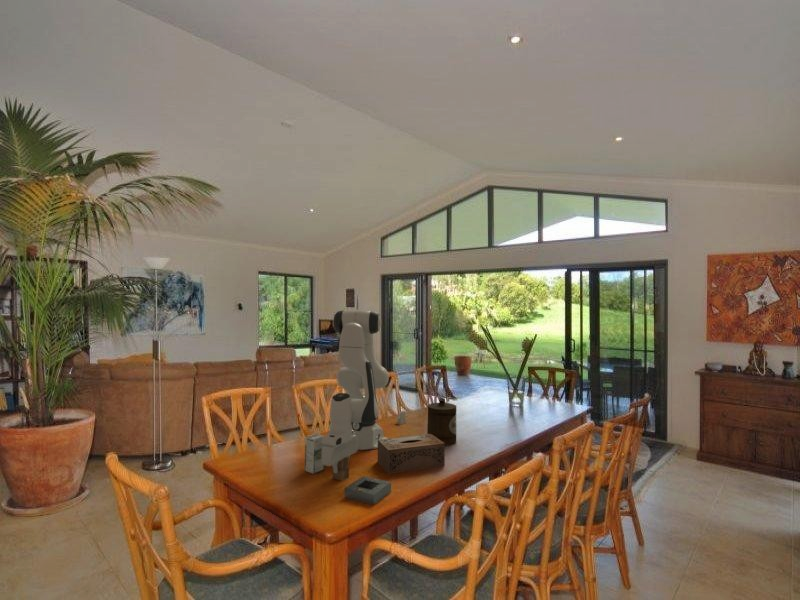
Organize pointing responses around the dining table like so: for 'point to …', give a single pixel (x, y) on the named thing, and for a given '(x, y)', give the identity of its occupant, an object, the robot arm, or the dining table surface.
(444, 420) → the wooden container
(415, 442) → the tissue box cover
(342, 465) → the brown block with knob
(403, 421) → the architectural model
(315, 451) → the syrup box
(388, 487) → the grey square socket base
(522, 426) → the dining table surface
